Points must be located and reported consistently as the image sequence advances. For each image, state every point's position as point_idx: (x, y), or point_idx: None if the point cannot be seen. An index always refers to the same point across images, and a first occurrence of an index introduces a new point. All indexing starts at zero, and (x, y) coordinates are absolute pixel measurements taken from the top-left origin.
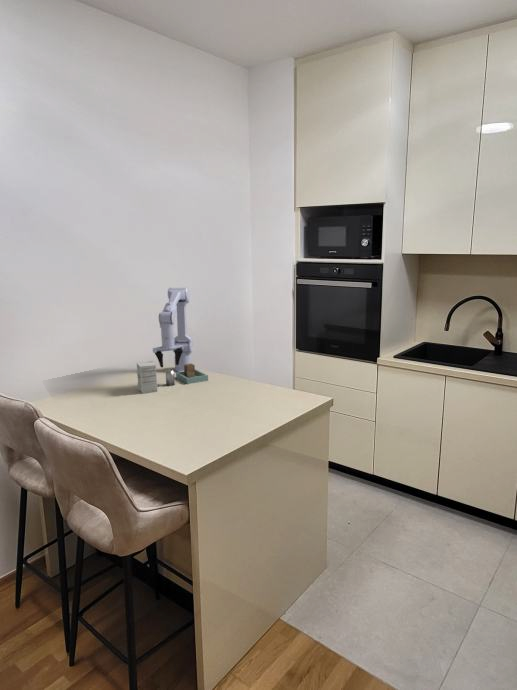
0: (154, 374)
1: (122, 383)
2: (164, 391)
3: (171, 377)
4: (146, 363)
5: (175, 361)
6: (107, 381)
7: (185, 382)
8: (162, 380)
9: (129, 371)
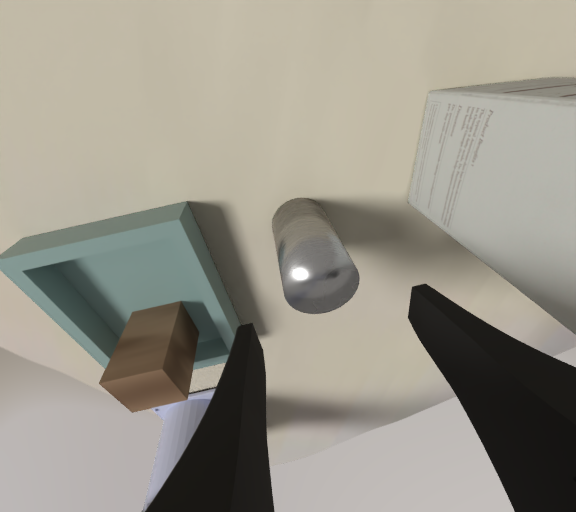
0: None
1: (488, 310)
2: (385, 63)
3: (306, 227)
4: None
5: (264, 379)
6: None
7: (198, 229)
8: None
9: (392, 415)
